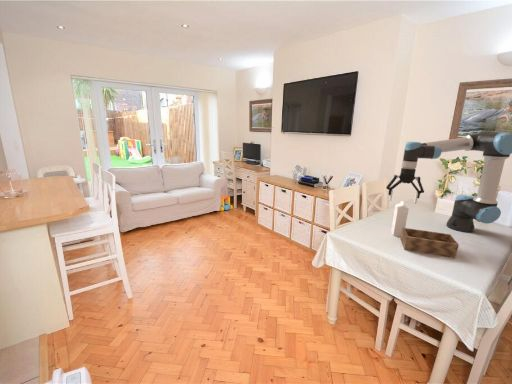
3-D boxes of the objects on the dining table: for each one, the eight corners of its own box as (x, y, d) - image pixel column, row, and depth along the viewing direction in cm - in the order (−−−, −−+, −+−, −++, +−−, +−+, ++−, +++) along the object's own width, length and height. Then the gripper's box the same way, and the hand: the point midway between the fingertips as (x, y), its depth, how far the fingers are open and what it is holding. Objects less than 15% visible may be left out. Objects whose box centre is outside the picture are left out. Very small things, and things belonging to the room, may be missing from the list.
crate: (447, 247, 147) (450, 234, 145) (455, 258, 135) (458, 244, 133) (400, 239, 156) (402, 227, 154) (404, 249, 143) (406, 236, 141)
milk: (393, 235, 161) (398, 202, 155) (390, 232, 167) (395, 200, 161) (403, 236, 160) (409, 203, 154) (400, 233, 165) (406, 200, 160)
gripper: (431, 168, 151) (424, 202, 156) (385, 165, 160) (379, 197, 165) (434, 170, 144) (427, 206, 150) (386, 167, 153) (380, 200, 158)
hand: (402, 201), depth 158 cm, fingers open, 13 cm apart
